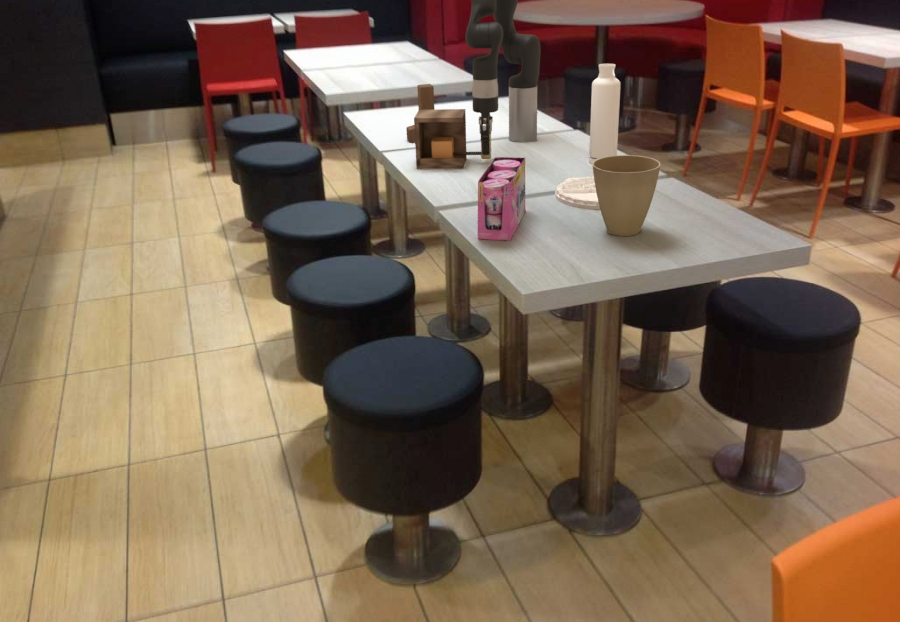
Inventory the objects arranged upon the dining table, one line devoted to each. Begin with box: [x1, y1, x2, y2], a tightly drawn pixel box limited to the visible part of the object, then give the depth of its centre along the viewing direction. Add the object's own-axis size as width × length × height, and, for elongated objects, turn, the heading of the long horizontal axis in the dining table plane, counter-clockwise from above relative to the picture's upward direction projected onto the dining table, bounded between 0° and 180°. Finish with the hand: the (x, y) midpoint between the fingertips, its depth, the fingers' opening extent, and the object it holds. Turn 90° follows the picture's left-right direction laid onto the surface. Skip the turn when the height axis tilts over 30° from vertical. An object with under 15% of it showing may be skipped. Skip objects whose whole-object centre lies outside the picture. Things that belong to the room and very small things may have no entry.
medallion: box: [554, 175, 601, 211], centre depth 219 cm, size 24×27×2 cm
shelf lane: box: [413, 108, 468, 170], centre depth 249 cm, size 14×12×15 cm
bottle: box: [588, 63, 622, 165], centre depth 242 cm, size 8×8×28 cm
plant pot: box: [591, 154, 661, 237], centre depth 189 cm, size 15×15×16 cm
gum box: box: [477, 156, 526, 241], centre depth 196 cm, size 24×8×14 cm, turn 167°
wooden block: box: [405, 83, 435, 144], centre depth 277 cm, size 9×4×18 cm, turn 106°
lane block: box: [431, 133, 492, 160], centre depth 249 cm, size 18×6×9 cm, turn 85°
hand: (486, 152), depth 250 cm, fingers closed on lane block, 3 cm apart
